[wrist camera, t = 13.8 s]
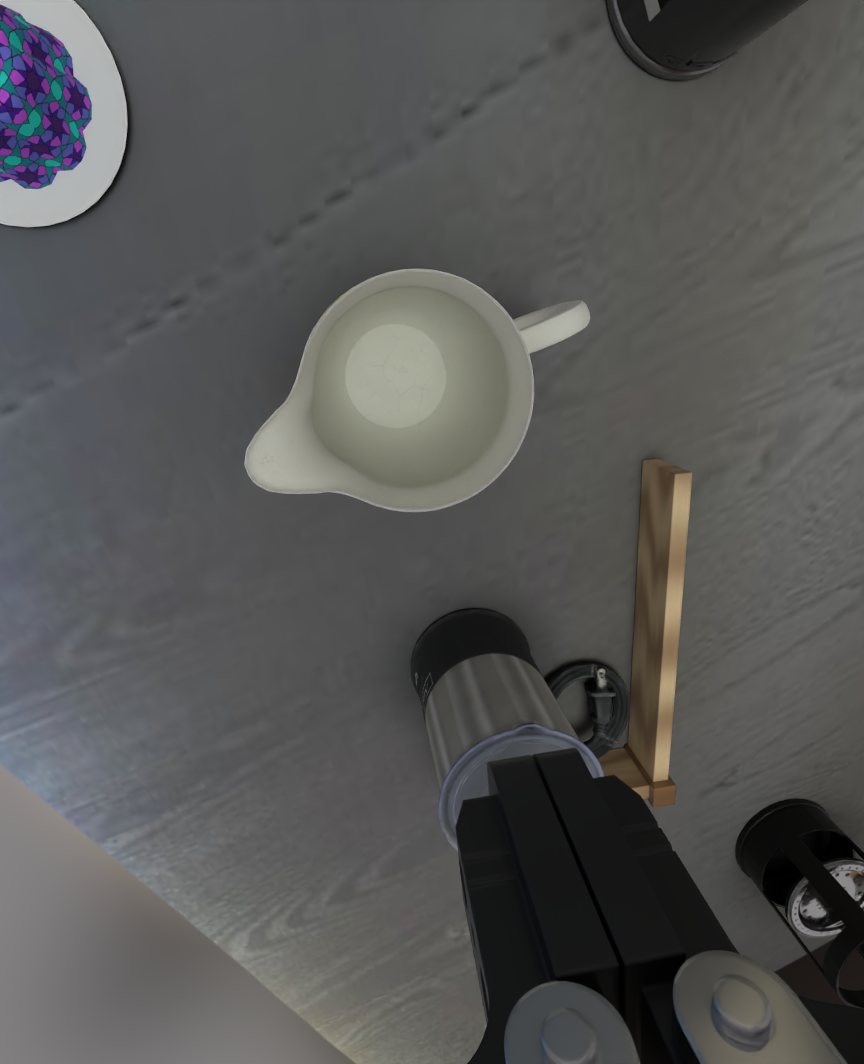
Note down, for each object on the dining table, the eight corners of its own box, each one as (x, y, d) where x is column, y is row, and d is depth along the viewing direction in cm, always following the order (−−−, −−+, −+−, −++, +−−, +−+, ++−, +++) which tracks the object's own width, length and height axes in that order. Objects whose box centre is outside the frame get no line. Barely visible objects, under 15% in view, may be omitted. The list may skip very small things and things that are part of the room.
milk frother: (396, 624, 44) (418, 760, 30) (601, 566, 45) (716, 673, 31) (440, 775, 49) (477, 953, 35) (625, 721, 49) (734, 874, 35)
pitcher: (565, 394, 40) (668, 423, 27) (319, 502, 40) (306, 582, 27) (509, 225, 37) (599, 165, 24) (239, 344, 37) (180, 350, 24)
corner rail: (452, 477, 41) (466, 496, 36) (662, 458, 43) (703, 474, 38) (468, 785, 49) (481, 834, 44) (643, 759, 51) (675, 804, 46)
